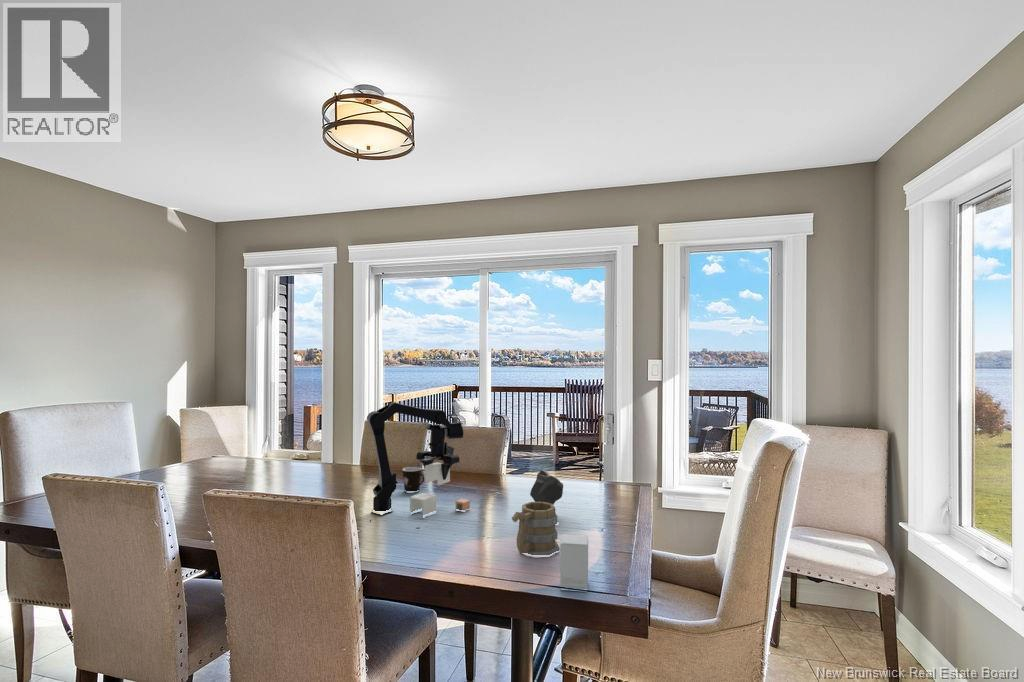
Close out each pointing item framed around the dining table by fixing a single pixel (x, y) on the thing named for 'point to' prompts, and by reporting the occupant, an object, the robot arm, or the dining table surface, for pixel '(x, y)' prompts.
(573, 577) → the supplement box
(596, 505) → the dining table surface
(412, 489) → the coffee mug
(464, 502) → the plain orange cube
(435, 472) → the cover
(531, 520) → the tankard
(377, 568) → the dining table surface
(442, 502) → the dining table surface
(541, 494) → the dark grey rock
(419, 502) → the cover
